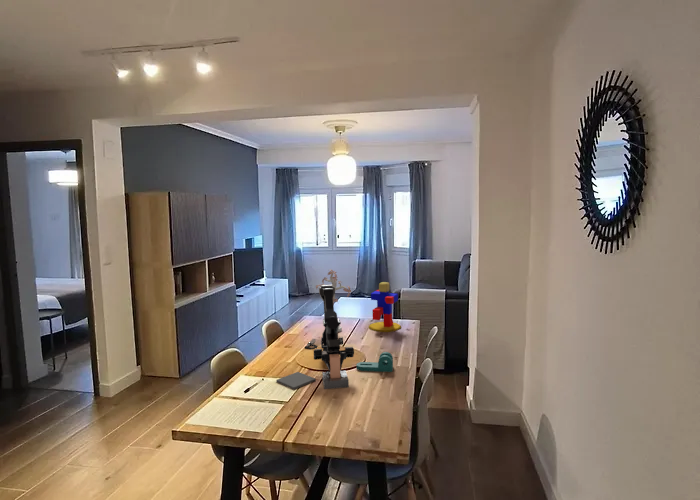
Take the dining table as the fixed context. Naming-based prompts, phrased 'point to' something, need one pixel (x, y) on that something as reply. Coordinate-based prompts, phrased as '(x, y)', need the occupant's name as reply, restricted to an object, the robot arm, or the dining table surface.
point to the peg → (334, 366)
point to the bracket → (378, 364)
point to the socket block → (335, 380)
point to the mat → (296, 380)
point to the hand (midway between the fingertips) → (335, 370)
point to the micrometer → (311, 344)
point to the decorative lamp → (334, 284)
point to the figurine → (384, 309)
